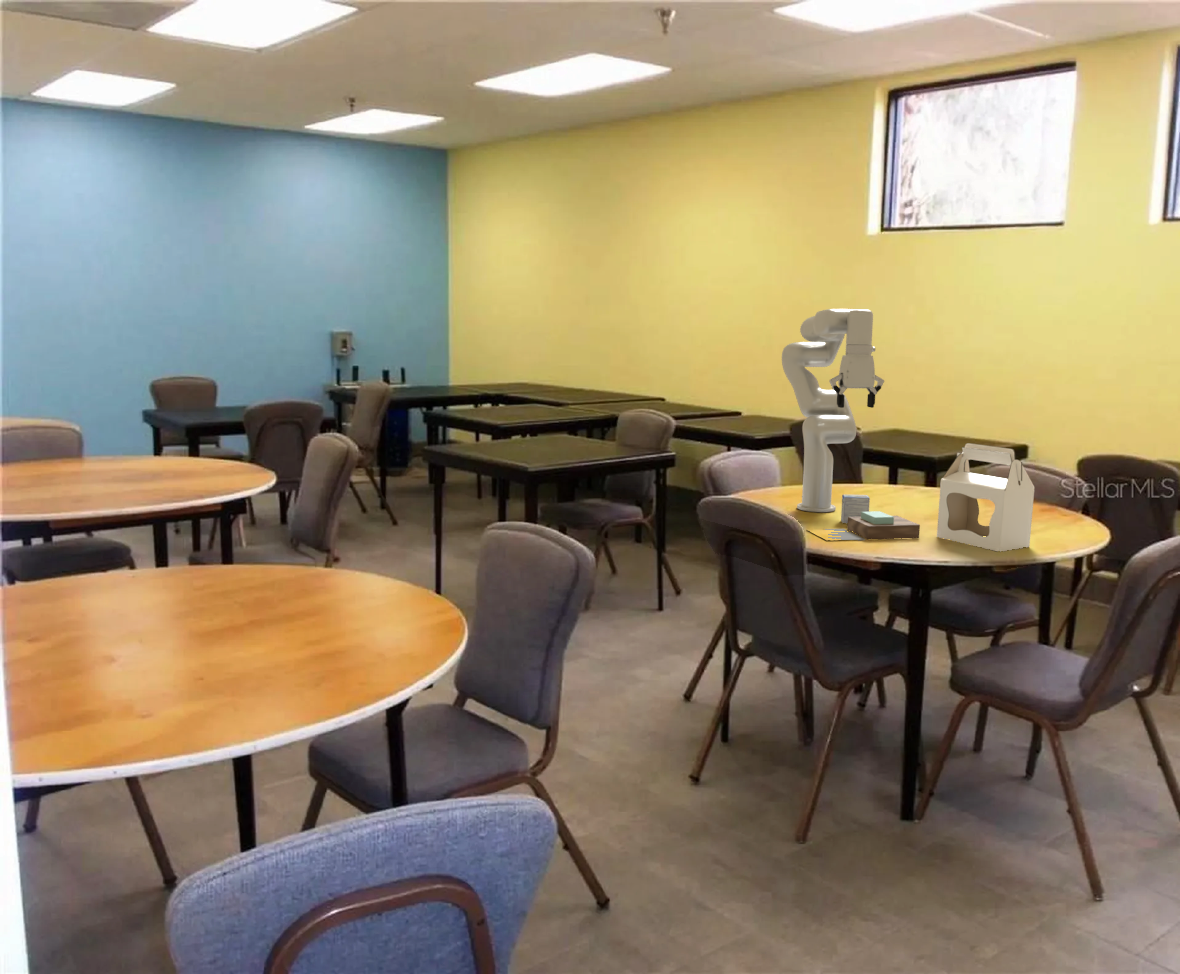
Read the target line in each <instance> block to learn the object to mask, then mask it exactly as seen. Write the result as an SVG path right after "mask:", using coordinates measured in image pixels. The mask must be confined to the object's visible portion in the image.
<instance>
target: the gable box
mask: <svg viewBox="0 0 1180 974" xmlns="http://www.w3.org/2000/svg"><path fill="white" fill-rule="evenodd" d="M961 449H962V452H957V453H956V457H955V459H954V460H953V462H952V463H951V465H950V466H949V467H948V468H947V470H946V472H945V473H944V475H943V476H942V477H941V479H940V485H939V487H940V489H939V501H938V515H937V528H936V530H937V531H936V537H937V538H938V537H939V539H942V538H944V539H943V540H946V539H950V540H952V542H955V541H957V542H956V543H959V542H960V544H963V543H965V544H964V545H968V544H970V545H969V546H972V545H973V547H976V546H977V548H980V547H982V549H986V550H989V549H990V551H994V552H998V551H1000V552H999V553H1001V551H1003V552H1008V551H1007V550H1009V551H1013V550H1012V549H1015V550H1018V549H1019V548H1020V549H1024V548H1023V547H1026V548H1029V547H1030V544H1031V534H1032V533H1031V532H1032V531H1031V530H1032V519H1033V509H1034V497H1035V489H1036V488H1035V485H1034V484H1033V481H1032V480H1031V478H1030V476H1029V474H1028V472H1027V471H1026V469H1025V466H1024V465H1023V461H1020V460H1019V459H1017V458H1016V451H1015V449H1013V448H1007V447H1002V446H1001V447H999V446H993V445H986V444H977V443H970V442H969V443H965V445H964V446H962V447H961ZM971 460H973V461H979V462H986V463H993V464H1000V465H1005V466H1007V467H1008V466H1010V467H1009V471H1008V476H1007V477H1001V476H995V475H994V476H993V475H988V474H982V473H976V472H971V471H970V463H969V461H971ZM979 499H981V500H989V501H991V502H992V503H993V504H994V511H993V513H992V515H991V517H990V520H989V524H988V525H982V524H980V523H979V520H978V519H979V515H980V507H979V502H978V500H979ZM983 536H986V537H983ZM950 540H949V541H950ZM1020 549H1019V550H1020Z"/></svg>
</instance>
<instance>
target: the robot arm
mask: <svg viewBox="0 0 1180 974" xmlns="http://www.w3.org/2000/svg"><path fill="white" fill-rule="evenodd" d="M873 325H874V313H873V311H872V310H870V309H858V308H857V309H856V308H854V309H853V308H851V309H850V308H849V309H848V308H828V309H823V310H818V311H817V312H816V313H815V315H813V316H810V317H807V318H806V319H805V320H803V322H802V323H801V324H800V329H799V330H800V331H799V333H800V335H801V336H802V337H803V339H805V340H806V341H799V342H791V343H789V344H787V345H785V346H784V348H783V350H782V352H781V365H782V369H783V372H784V374H785V376H786V378H787V380H788V382H789V384H790V385H791V387H792V389H793V393H794V395H795V398H796V400H797V401H796V402H797V405H798V407H799V410H800V412H801V414H802V416H803V417H806V418H805V419H804V421H803V423H802V427H801V429H802V437H803V448H804V449H803V453H804V454H803V475H802V495H801V502H800V503H797V504H796V508H797V509H798V510H801V511H804V512H809V513H811V512H812V513H830V512H834V511H836V506H835V505H834V504H832V494H833V491H832V490H833V472H834V471H833V470H834V456H833V453H832V451H831V450H830V448H829V446H828V445H830V444H848V443H851V442H852V441H854V440H855V438H856V435H857V425H856V420H855V418H854V415H853V412H852V409H851V407H850V404H849V401H848V398H847V396H846V395H845V391H846V390H848V389H866V390H867V391H868V394H867V401H866V404H867V405H866V406H867V408H874V407H875V403H876V395H877V394H878V392H879V391H880V390H881V389H882V387H883V386H884V383H885V380H884V379H883V378H881V377H879V376H878V375H876V373H875V372H876V371H875V369H876V368H875V360H874V359H875V358H874V356H873V355H872V354H873V352H876V347H875V346H873V345H872V344H873V343H872V342H873V329H874V328H873ZM845 334H846V336H845ZM845 337H846V340H845V342H846V343H845V354H844V355H842V356H841V361H840V364H839V365H840V366H839V370H838V371H839V373H838V375H836V376H834V377H833V378H830V379H829V384H830V386H831V389H823V388H821V386H820V384H819V381H818V378H817V377H816V376H815V375H814V374H813V373H812V372H810V370H808V369H807V368H825V367H830V366H831V365H832V364H833V363H834V361H835V359H836V357H837V354H838V352H839V350H840V348H841V346H842V344H843V341H844V338H845ZM875 382H877V384H876V385H875ZM837 384H838V386H837Z"/></svg>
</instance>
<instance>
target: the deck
mask: <svg viewBox="0 0 1180 974" xmlns="http://www.w3.org/2000/svg"><path fill="white" fill-rule="evenodd" d="M892 516H893V517H894V524H873V523H870V522H868V521H866V520H864V519H861V517H848V524H847V526H846V527H847V529H846V530H847V531H849V530H850V531H849V532H851V531H853V532H854V534H855V533H856V535H858V536H859V535H860V537H861V536H862V538H864V539H865V538H866V540H867V539H878V540H895V539H894V538H901V539H902V538H912V539H920V527H921V525H920V524H919V523H917V522H914V521H912V520H908V519H907V518H905V517H904V518H903V517H901V516H899V515H892ZM853 532H852V533H853ZM901 539H900V540H901ZM902 540H903V539H902Z"/></svg>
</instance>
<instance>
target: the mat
mask: <svg viewBox="0 0 1180 974" xmlns="http://www.w3.org/2000/svg"><path fill="white" fill-rule="evenodd" d="M824 529H825V530H834V531H845V532H831V533H838V534H828V535H832V536H841V537H828V538H832V539H835V538H836V539H841V540H858V541H866V540H867V539H865V538H863V537H861V536H859V535H857V534H855V533H853V532H851V531H849V532H847V531H848V530H847V529H845V528H824Z"/></svg>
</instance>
